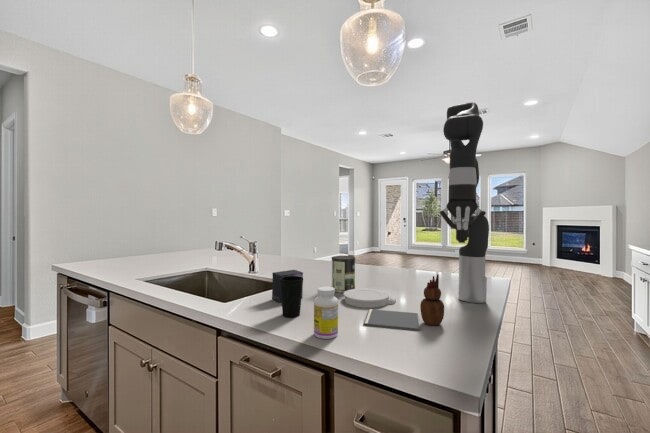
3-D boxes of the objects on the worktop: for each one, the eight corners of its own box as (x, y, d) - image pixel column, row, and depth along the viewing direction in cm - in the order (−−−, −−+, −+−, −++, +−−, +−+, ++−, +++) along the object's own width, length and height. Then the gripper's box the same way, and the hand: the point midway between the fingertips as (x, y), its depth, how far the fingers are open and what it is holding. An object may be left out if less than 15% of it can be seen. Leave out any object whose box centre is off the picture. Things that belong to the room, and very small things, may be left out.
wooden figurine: (440, 320, 97) (441, 272, 96) (446, 327, 91) (446, 276, 91) (418, 319, 97) (419, 272, 97) (422, 326, 92) (423, 276, 91)
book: (417, 314, 102) (417, 313, 102) (419, 330, 88) (419, 328, 88) (368, 310, 106) (368, 308, 106) (363, 325, 92) (363, 323, 92)
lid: (402, 308, 110) (402, 300, 110) (346, 309, 108) (346, 300, 108) (389, 295, 127) (389, 288, 127) (340, 295, 126) (340, 288, 126)
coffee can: (354, 286, 140) (354, 255, 139) (356, 292, 129) (356, 259, 129) (331, 286, 140) (331, 255, 140) (331, 292, 130) (331, 259, 129)
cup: (284, 320, 96) (284, 281, 96) (276, 313, 103) (276, 277, 103) (306, 316, 100) (307, 279, 99) (297, 309, 106) (297, 275, 106)
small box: (280, 303, 114) (280, 275, 114) (271, 299, 119) (271, 272, 119) (303, 298, 121) (303, 271, 121) (293, 294, 126) (293, 269, 126)
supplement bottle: (313, 330, 88) (313, 285, 88) (336, 330, 89) (336, 285, 88) (314, 340, 81) (314, 291, 81) (339, 339, 82) (339, 291, 82)
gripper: (483, 184, 93) (482, 242, 94) (437, 185, 97) (436, 240, 97) (490, 182, 86) (489, 244, 86) (439, 183, 90) (439, 243, 90)
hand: (461, 242), depth 92 cm, fingers closed
